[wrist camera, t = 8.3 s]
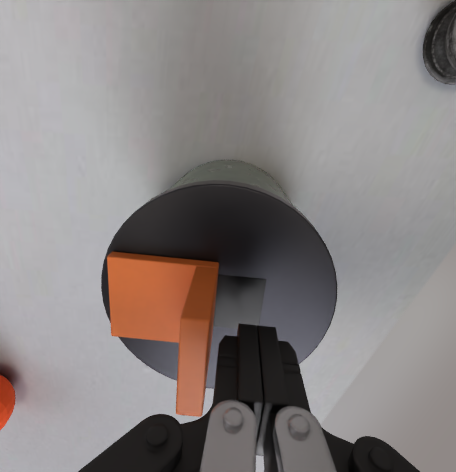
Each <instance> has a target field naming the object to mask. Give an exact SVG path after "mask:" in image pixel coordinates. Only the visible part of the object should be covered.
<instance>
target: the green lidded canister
mask: <svg viewBox="0 0 456 472" xmlns="http://www.w3.org/2000/svg"><path fill="white" fill-rule="evenodd" d="M111 252H122V253H132V254H142V255H151V256H161V257H171V258H181V259H191V260H200V261H210V262H218V263H219V269H218V280H217V290H216V301H215V312H214V322H213V333H212V342H211V350H210V358H209V365H208V373H207V381H206V388H214V387H215V376H216V366H217V357H218V347H219V343H220V341H221V340H222V339H223V337H224V336H225V335H228V336H237V331H238V324H239V323H240V324H249V325H256V326H257V325H260V326H270V327H276V331H277V337H278V341H287V342H289V344H290V345H291V346H292V347H293V349H294V350H295V351H296V355H297V359H298V365H299V364H300V363H301V362H302V361H303V360H305V359H306V358H307V357H308V356H309V355H310V354H311V353H312V352H313V351H314V350H315V348H316V347H317V346H318V344H319V343H320V342H321V340H322V339H323V337H324V336H325V334H326V332H327V330H328V328H329V326H330V324H331V321H332V318H333V315H334V311H335V306H336V301H337V280H336V272H335V268H334V264H333V261H332V258H331V255H330V253H329V251H328V249H327V247H326V244H325V243H324V241H323V240H322V238H321V237H320V235H319V234H318V232H317V231H316V229H315V228H314V227H313V225H312V224H311V223H310V222H309V221H308V220H307V218H306V217H305V216H304V215H303V214H302V213H301V212H300V211H298V210H297V209H296V208H295V207H294V206H293V205H291V203H290V202H289V200H288V199H287V197H286V196H285V194H284V192H283V191H282V189H281V188H280V186H279V185H278V184H277V183H276V181H275V180H274V179H273V178H272V177H271V176H269V175H268V174H267V173H266V172H264V171H263V170H261V169H260V168H258V167H256V166H253V165H251V164H248V163H245V162H242V161H236V160H218V161H213V162H208V163H205V164H203V165H200V166H198V167H196V168H195V169H193V170H191V171H190V172H189V173H187V174H186V175H185V176H183V177H182V178H181V179H180V180H179V181H178V182H177V183H176V184H175V185H174V186H173V187H172V188H170V189H169V190H167V191H165V192H163V193H161V194H160V195H158V196H156V197H154V198H152V199H151V200H150V201H148V202H147V203H146V204H144V205H143V206H142V207H140V208H139V209H138V210H137V211H135V212H134V213H133V214H132V215H131V216H130V217H129V218H128V219H127V220H126V221H125V222H124V223H123V225H122V226H121V228H120V229H119V230H118V232H117V233H116V234H115V236H114V238H113V240H112V242H111V244H110V246H109V248H108V250H107V253H106V256H105V260H104V263H103V270H102V287H101V289H102V296H103V303H104V306H105V310H106V313H107V316H108V318H109V320H110V323H111V318H110V301H109V283H108V266H107V256H108V255H109V254H110V253H111ZM119 338H120V339H121V341H122V342H123V343H124V344H125V346H126V347H127V348H128V349H129V350H130V351H131V352H132V353H133V354H134V355H135V356H136V357H137V358H138V359H140V360H141V361H142V362H143V363H145V364H146V365H147V366H149V367H151V368H152V369H154V370H155V371H157V372H159V373H161V374H163V375H165V376H167V377H169V378H171V379H174V380H177V375H178V353H179V343H177V342H167V341H157V340H147V339H138V338H128V337H119Z"/></svg>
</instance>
